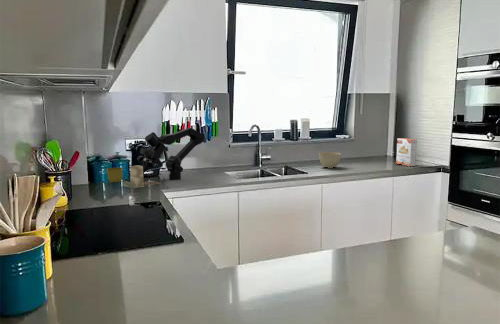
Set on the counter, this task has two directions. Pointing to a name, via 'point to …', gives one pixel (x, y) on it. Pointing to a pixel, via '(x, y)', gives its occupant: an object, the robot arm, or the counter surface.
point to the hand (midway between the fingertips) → (141, 173)
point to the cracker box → (406, 151)
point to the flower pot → (114, 174)
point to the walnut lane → (132, 185)
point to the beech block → (137, 175)
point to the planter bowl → (329, 159)
